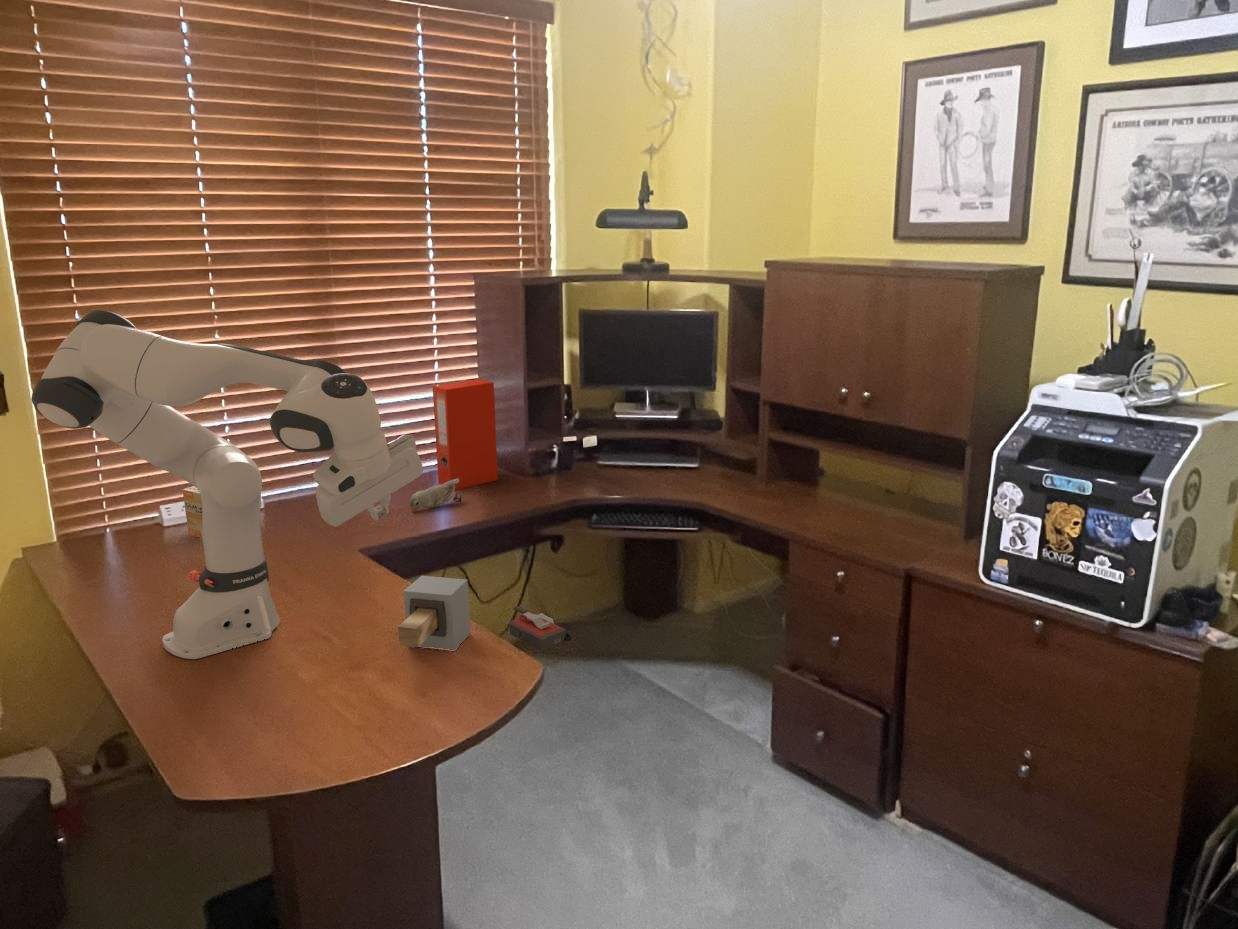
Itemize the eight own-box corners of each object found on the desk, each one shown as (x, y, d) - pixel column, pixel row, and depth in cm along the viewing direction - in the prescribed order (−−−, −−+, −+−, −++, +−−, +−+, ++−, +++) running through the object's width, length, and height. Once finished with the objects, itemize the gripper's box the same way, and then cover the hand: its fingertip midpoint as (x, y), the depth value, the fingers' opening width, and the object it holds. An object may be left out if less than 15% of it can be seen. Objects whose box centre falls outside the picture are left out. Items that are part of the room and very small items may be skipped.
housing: (453, 653, 178) (449, 597, 175) (406, 648, 180) (401, 592, 177) (470, 634, 186) (467, 579, 183) (425, 629, 188) (421, 575, 185)
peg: (417, 647, 169) (416, 628, 168) (399, 645, 170) (397, 626, 169) (449, 615, 183) (447, 598, 182) (431, 614, 183) (430, 596, 182)
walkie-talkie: (580, 641, 183) (519, 611, 197) (579, 620, 182) (518, 592, 196) (546, 655, 178) (486, 624, 191) (546, 634, 176) (484, 604, 190)
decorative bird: (406, 511, 264) (405, 486, 262) (455, 500, 274) (454, 476, 272) (415, 515, 260) (413, 490, 258) (464, 504, 270) (463, 480, 268)
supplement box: (187, 535, 245) (180, 489, 242) (202, 530, 249) (196, 484, 246) (208, 540, 242) (201, 493, 238) (223, 534, 246) (217, 488, 242)
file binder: (498, 480, 293) (493, 382, 285) (452, 491, 282) (446, 389, 274) (484, 475, 299) (479, 379, 290) (438, 485, 288) (432, 386, 279)
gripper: (401, 423, 167) (415, 480, 176) (304, 478, 156) (324, 536, 165) (422, 437, 163) (435, 494, 172) (324, 494, 152) (343, 552, 161)
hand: (380, 515), depth 168 cm, fingers closed
